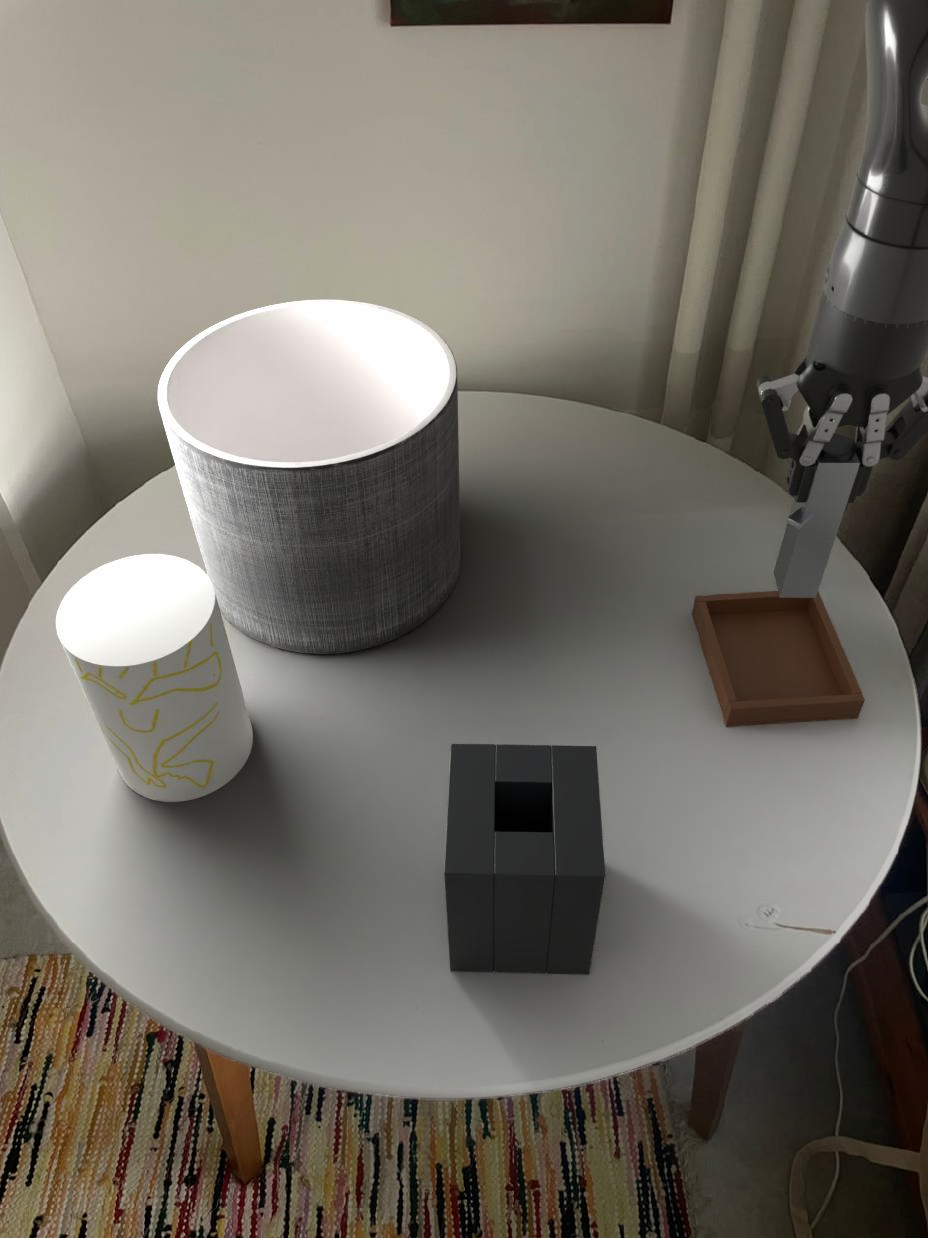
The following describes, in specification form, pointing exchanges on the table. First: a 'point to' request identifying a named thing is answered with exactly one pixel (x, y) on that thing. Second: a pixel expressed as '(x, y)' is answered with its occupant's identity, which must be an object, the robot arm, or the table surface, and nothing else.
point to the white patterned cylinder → (158, 674)
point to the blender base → (523, 858)
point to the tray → (775, 659)
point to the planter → (320, 470)
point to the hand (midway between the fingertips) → (822, 495)
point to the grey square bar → (816, 521)
